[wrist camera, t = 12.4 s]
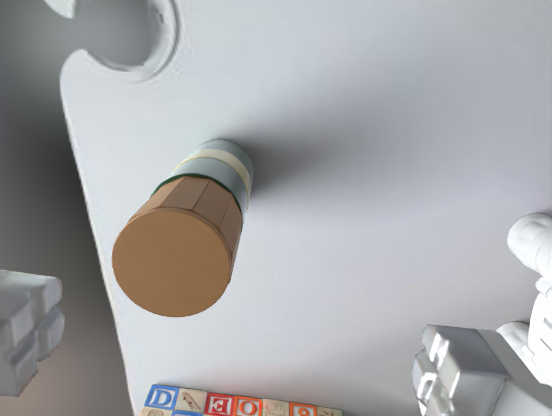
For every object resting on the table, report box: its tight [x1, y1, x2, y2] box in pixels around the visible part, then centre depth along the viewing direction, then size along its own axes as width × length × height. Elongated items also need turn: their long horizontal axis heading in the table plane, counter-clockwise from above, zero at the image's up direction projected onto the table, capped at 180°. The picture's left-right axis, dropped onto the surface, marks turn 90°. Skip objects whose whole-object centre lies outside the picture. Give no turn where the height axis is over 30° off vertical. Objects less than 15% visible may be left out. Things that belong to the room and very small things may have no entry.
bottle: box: [150, 140, 254, 235], centre depth 28 cm, size 6×6×17 cm
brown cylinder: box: [112, 176, 242, 317], centre depth 22 cm, size 6×6×6 cm
